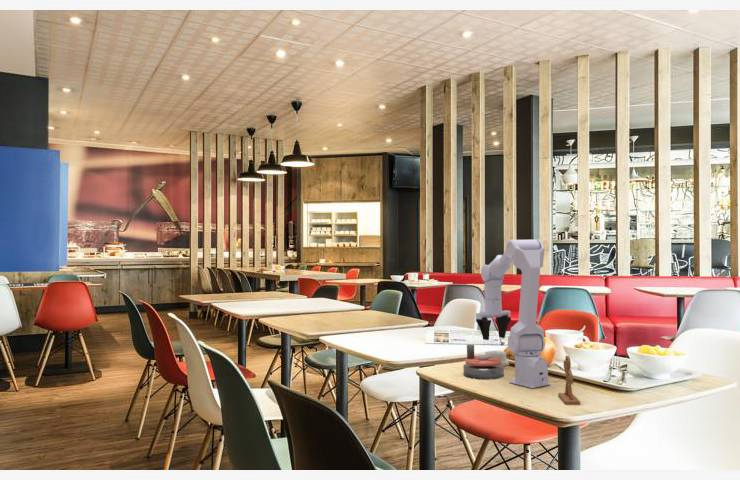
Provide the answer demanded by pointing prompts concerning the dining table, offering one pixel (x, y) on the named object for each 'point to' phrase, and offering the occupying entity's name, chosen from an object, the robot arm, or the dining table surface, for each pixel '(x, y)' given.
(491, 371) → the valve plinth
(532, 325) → the robot arm
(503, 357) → the mechanical component
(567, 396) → the brown statuette
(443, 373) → the dining table surface
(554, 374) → the dining table surface
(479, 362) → the handwheel
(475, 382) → the dining table surface
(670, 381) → the dining table surface
